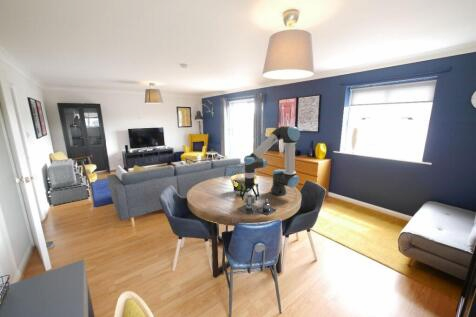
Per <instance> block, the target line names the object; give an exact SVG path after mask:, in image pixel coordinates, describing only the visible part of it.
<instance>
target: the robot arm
mask: <svg viewBox="0 0 476 317" xmlns="http://www.w3.org/2000/svg"><path fill="white" fill-rule="evenodd" d="M300 137H301V132H300V129H298V127H296V126H283V125H282V126H279V127H276V129H273V131H272V132H271V133H270V134H269V136H268V137H267V138H266V139H265V140H264V141H263V142H262V143H261V144H260V145H258V146H257V148H256V149H255V150H254V151H252V152H251V153H250V154H249V155H245V156H244V158H243V163H244V178H245V183H244V184H241V191H240V194H239V197H241V201H243V205H246V203H245V195H244V194H245V192H246V190H247V189H251V191H252V192H253V195H254V196H255V203H254V205H255V206H257V204H256V202H257V200H258V197H260V192H259V183H256V182H255V170H256V169H263V168H266V167H267V166H268V160H267V159H266V158H264V157H262V156H263V155H264V154H265V153H266V152H267V151H268V150H269V149H271V147H272V146H273V145H274V144H275V143H277V142H278V143H279V141H280V140H282V143H283V144H284V168H283V169H282V168H281V169H278V168H277V169H275V170H273V171H272V186H271V189H270V194H272V195H273V196H286V194H287V189H286V187H287V188H292V189H294V188H296V187H297V186H298V184H299V183H300V177H299V176H298V175H297V171H296V170H295V164H296V163H295V162H296V161H295V160H296V154H295V153H296V144H297V143H298V140H299V139H300ZM244 185H245V187H246V188H245V190H244V192H243V194H242V189H243V186H244ZM255 187H256V189H255Z"/></svg>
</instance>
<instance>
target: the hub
mask: <svg viewBox="0 0 476 317" xmlns="http://www.w3.org/2000/svg"><path fill="white" fill-rule="evenodd" d="M256 209H257V210H256ZM258 209H260V207H259V206H257V205H255V204H246V203H245V204H243V205H242V206H239V207H238V208H237V210H239V211H241V212H243V213H245V214H247V215H250V216H251V215H252V214H254V212H255V213H257V212H259V211H258Z"/></svg>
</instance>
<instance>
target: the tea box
mask: <svg viewBox="0 0 476 317" xmlns="http://www.w3.org/2000/svg"><path fill="white" fill-rule="evenodd" d="M232 180H233V181H235V182H237V183H238V186H237V187H235V186H234V185H233V194H234V195H240V191H241V184H244V183H245V177H240V176H236V177H235V178H234V179H232ZM245 188H246V187H245V185H244V186H243V189H242V194H243V192H244V190H245ZM251 193H252V189H247V190H246V192H245V194H244V196H245V195H248V194H251Z"/></svg>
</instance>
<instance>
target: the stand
mask: <svg viewBox="0 0 476 317" xmlns="http://www.w3.org/2000/svg"><path fill="white" fill-rule="evenodd" d="M256 210H257V209H256ZM276 210H277V211H278V209H277V208H273V207H271V203H270V202H269V198H264V202H262V206H261V207H260V209H258V211H257V212H259V213H261V214H263V215H265V216H270V215H271V214H273V213H275V212H277V211H276Z"/></svg>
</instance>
